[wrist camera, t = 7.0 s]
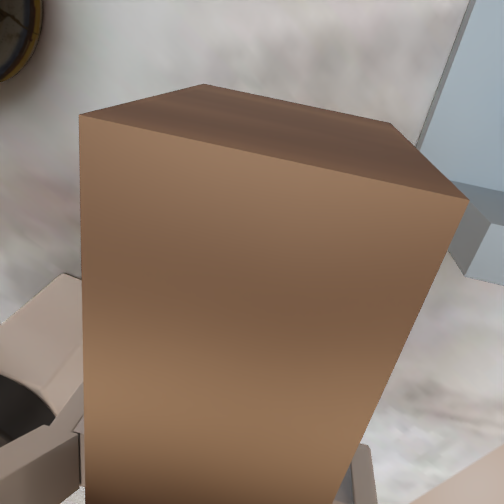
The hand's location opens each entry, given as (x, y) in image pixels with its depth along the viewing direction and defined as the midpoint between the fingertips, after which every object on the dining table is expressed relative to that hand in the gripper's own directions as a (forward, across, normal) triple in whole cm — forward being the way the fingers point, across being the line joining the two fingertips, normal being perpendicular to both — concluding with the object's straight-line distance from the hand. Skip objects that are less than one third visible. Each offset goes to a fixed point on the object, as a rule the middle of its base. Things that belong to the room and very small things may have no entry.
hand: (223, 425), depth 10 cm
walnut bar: (+2, 0, 0) cm, 2 cm away
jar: (+17, -13, -13) cm, 24 cm away
